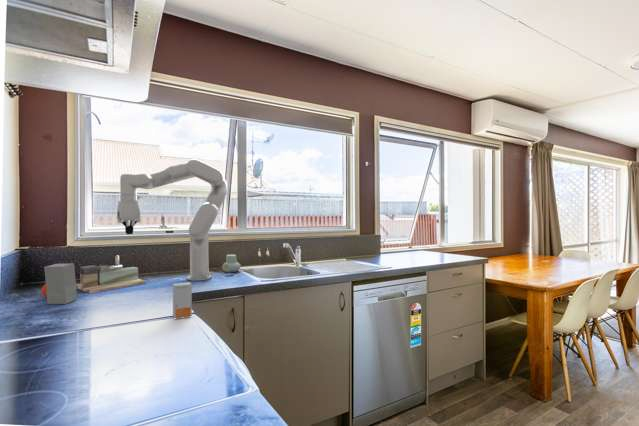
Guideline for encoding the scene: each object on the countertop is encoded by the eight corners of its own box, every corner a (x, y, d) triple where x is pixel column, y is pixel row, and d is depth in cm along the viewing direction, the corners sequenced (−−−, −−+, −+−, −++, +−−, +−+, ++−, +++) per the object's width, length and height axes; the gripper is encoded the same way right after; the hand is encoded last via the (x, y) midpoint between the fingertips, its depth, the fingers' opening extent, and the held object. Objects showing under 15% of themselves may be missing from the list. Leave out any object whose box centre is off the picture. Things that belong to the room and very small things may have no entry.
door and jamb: (145, 283, 179) (145, 262, 179) (90, 293, 160) (89, 269, 159) (129, 279, 190) (128, 258, 190) (75, 287, 171) (75, 265, 170)
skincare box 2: (173, 320, 123) (173, 285, 122) (172, 316, 127) (172, 283, 126) (192, 317, 126) (191, 284, 125) (190, 314, 129) (190, 281, 129)
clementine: (60, 298, 151) (60, 282, 151) (40, 301, 147) (39, 284, 147) (62, 294, 158) (62, 278, 157) (43, 296, 154) (42, 280, 154)
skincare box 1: (77, 300, 148) (77, 262, 148) (63, 305, 141) (63, 265, 141) (59, 299, 149) (58, 262, 149) (44, 304, 142) (43, 265, 142)
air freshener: (242, 271, 212) (242, 255, 212) (231, 273, 205) (231, 256, 205) (231, 269, 219) (231, 253, 218) (220, 271, 212) (220, 255, 212)
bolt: (122, 268, 178) (122, 254, 178) (100, 271, 170) (100, 257, 170) (120, 268, 179) (120, 254, 179) (99, 271, 172) (98, 256, 171)
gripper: (140, 198, 189) (140, 232, 190) (109, 198, 177) (110, 234, 178) (147, 198, 185) (147, 233, 185) (116, 198, 173) (117, 235, 173)
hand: (129, 234), depth 182 cm, fingers closed
